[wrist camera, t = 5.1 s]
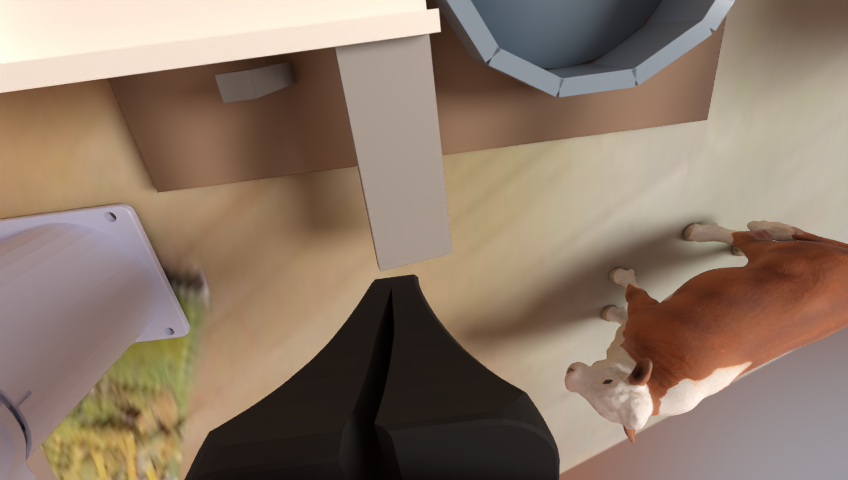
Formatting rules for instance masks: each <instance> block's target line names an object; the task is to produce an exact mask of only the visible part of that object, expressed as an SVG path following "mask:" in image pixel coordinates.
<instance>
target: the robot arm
mask: <svg viewBox="0 0 848 480" xmlns="http://www.w3.org/2000/svg"><path fill="white" fill-rule="evenodd" d="M110 212H111V213H113V214H114V215H115V216H116V219H115V218H113V217H112V216H111V215H110ZM169 328H171V329H173V331H172V330H170V329H169ZM189 331H190V325H189V323H188V321H187V319H186V317H185V315H184V312H183V310H182V308H181V306H180V304H179V302H178V300H177V298H176V296H175V294H174V292H173V290H172V287H171V285H170V283H169V281H168V279H167V277H166V275H165V273H164V271H163V269H162V267H161V265H160V263H159V260H158V258H157V256H156V254H155V252H154V250H153V248H152V246H151V244H150V242H149V240H148V238H147V236H146V233H145V231H144V229H143V227H142V225H141V223H140V221H139V219H138V217H137V215H136V213H135V211H134V210H133V208H132V207H130V206H129V205H127V204H113V205H105V206H98V207H90V208H83V209H75V210H67V211H60V212H52V213H45V214H37V215H29V216H22V217H14V218H7V219H0V480H35V478H36V475H35V474H34V472H32V470H31V469H30V468H29V466H28V465H27V462H26V461H27V460H28V459H29V457H30V456H31V455H32V454H33V453H34V452H35V451H36V450H37V449H38V447H39V446H40V445H41V444H42V443H43V442H44V441H45V440H46V439H47V438H48V436H49V435H50V434H51V433H52V432H53V431H54V430H55V429H56V428H57V426H58V425H59V424H60V423H61V422H62V421H63V420H64V419H65V418H66V417H67V415H68V414H69V413H70V412H71V411H72V410H73V409H74V408H75V407H76V405H77V404H78V403H79V402H80V401H81V400H82V399H83V398H84V397H85V396H86V394H87V393H88V392H89V391H90V390H91V389H92V388H93V387H94V386H95V384H96V383H97V382H98V381H99V380H100V379H101V378H102V377H103V376H104V375H105V373H106V372H107V371H108V370H109V369H110V368H111V367H112V366H113V365H114V363H115V362H116V361H117V360H118V359H119V358H120V357H121V356H122V355H123V353H124V352H125V351H126V350H127V349H128V348H129V347H130V346H131V345H132V344H133V343H136V342H144V341H152V340H161V339H169V338H177V337H183V336H185V335H187V333H188V332H189ZM559 464H560V459H559V453H558V448H557V445H556V443H555V440H554V438H553V436H552V434H551V432H550V430H549V428H548V426H547V424H546V422H545V421H544V419H543V417H542V416H541V414H540V412H539V411H538V409H537V408H536V406H535V405H534V403H533V402H532V400H531V399H530V397H529V396H528V394H527V393H526V392H524V391H522V390H521V389H519V388H517V387H515V386H514V385H512V384H510V383H508V382H507V381H505V380H503V379H501V378H500V377H498V376H497V375H496V374H494V373H493V372H491V371H490V370H488V369H487V368H486V367H485V366H484V365H482V364H481V363H480V362H479V361H477V360H476V359H475V358H474V357H473V356H471V355H470V354H469V353H468V352H467V351H466V350H465V349H464V348H463V347H462V346H461V345H460V344H459V343H458V342H457V341H456V340H455V339H454V338H453V337H452V336H451V335H450V334H449V332H448V331H447V330H446V329H445V327H444V326H443V325H442V324H441V322H440V321H439V320H438V318H437V317H436V315H435V314H434V312H433V311H432V309H431V308H430V306H429V304H428V303H427V301H426V299H425V297H424V295H423V293H422V291H421V288H420V286H419V281H418V277H417V276H415V275H414V274H413V275H405V276H398V277H391V278H383V279H376V280H374V281H373V283H372V284H371V286H370V287H369V289H368V290H367V292H366V293H365V295H364V296H363V298H362V299H361V301H360V302H359V304H358V305H357V307H356V308H355V310H354V311H353V312H352V314H351V315H350V317H349V318H348V319H347V321H346V322H345V323H344V325H343V326H342V327H341V328H340V330H339V331H338V332H337V333H336V334H335V336H334V337H333V338H332V339H331V340H330V342H329V343H328V344H327V345H326V346H325V347H324V348H323V349H322V350H321V351H320V352H319V353H318V354H317V355H316V356H315V357H314V358H313V359H312V360H311V361H310V362H309V363H308V364H306V365H305V366H304V367H303V368H302V369H301V370H299V371H298V372H297V373H296V374H295V375H294V376H292V377H291V378H290V379H289V380H288V381H286V382H285V383H284V384H283V385H281V386H280V387H279V388H277V389H276V390H275V391H273V392H272V393H271V394H269V395H268V396H266V397H265V398H263V399H262V400H261V401H259V402H258V403H256V404H255V405H253V406H252V407H250V408H249V409H247V410H246V411H244V412H242V413H241V414H239V415H237V416H236V417H234V418H232V419H231V420H229V421H227V422H226V423H224V424H222V425H221V426H219V427H217V428H216V429H214V430H212V431H210V432H209V434H208V435H207V437H206V439H205V441H204V442H203V444H202V446H201V448H200V449H199V451H198V453H197V455H196V457H195V459H194V461H193V463H192V465H191V467H190V470H189V472H188V474H187V476H186V478H185V480H559Z"/></svg>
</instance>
